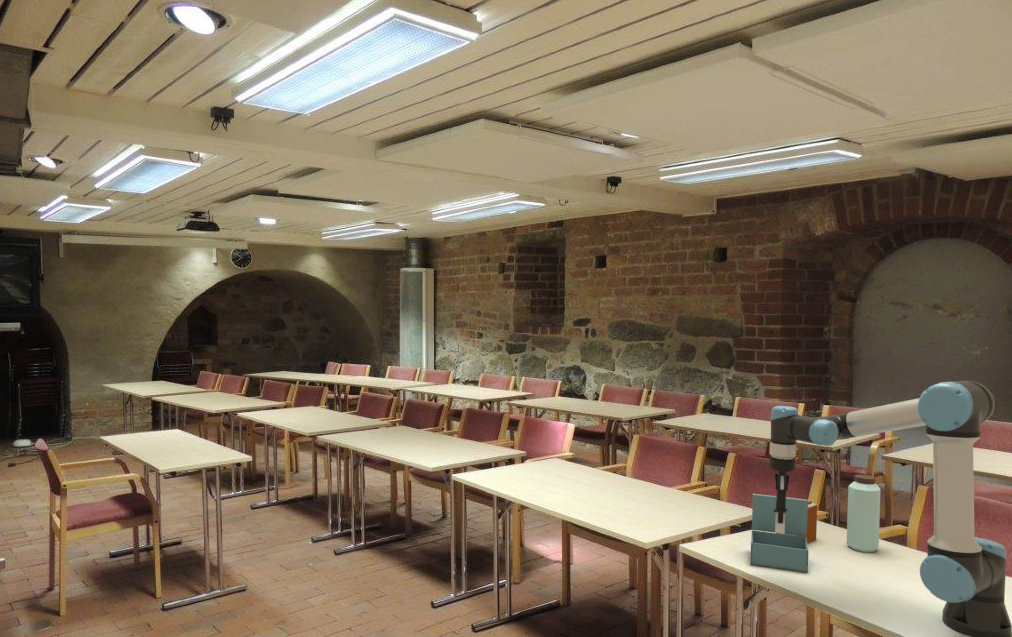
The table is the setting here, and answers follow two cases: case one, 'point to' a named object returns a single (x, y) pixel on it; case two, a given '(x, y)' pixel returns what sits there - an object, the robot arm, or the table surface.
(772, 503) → the lid
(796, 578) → the table surface
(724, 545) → the table surface
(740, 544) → the table surface
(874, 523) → the water bottle
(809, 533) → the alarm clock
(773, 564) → the grey-green open box
